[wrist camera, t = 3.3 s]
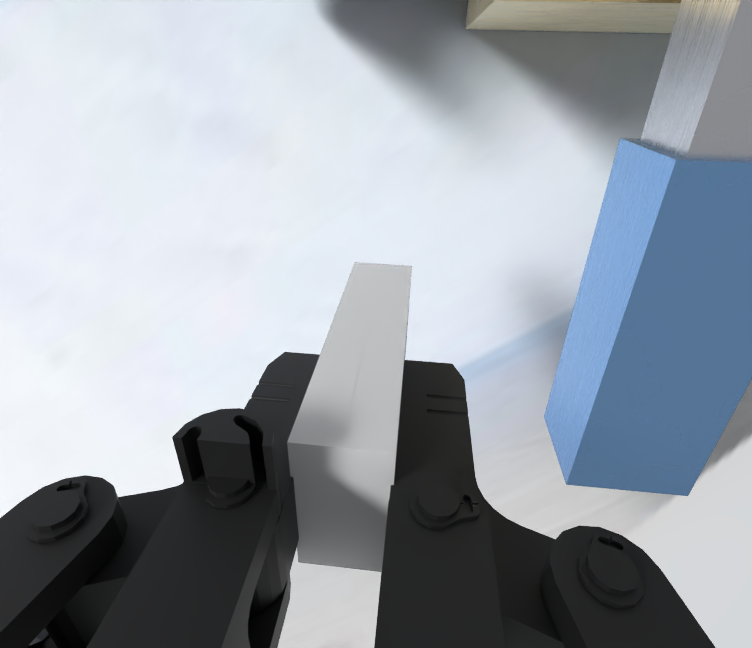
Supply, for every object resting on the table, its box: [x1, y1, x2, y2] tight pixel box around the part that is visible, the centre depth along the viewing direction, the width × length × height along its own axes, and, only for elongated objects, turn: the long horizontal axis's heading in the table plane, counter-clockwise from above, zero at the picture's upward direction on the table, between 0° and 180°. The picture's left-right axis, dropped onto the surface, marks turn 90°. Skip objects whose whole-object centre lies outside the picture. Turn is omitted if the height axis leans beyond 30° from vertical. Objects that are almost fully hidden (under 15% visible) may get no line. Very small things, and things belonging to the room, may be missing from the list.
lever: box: [544, 0, 752, 496], centre depth 9 cm, size 17×5×3 cm, turn 179°
